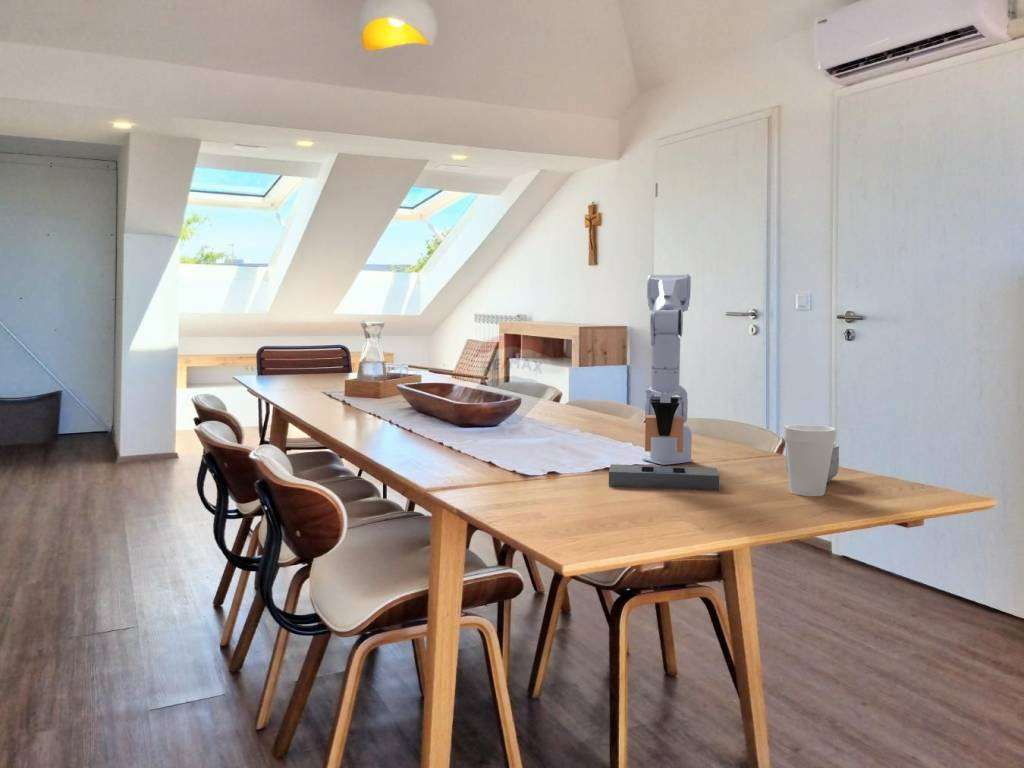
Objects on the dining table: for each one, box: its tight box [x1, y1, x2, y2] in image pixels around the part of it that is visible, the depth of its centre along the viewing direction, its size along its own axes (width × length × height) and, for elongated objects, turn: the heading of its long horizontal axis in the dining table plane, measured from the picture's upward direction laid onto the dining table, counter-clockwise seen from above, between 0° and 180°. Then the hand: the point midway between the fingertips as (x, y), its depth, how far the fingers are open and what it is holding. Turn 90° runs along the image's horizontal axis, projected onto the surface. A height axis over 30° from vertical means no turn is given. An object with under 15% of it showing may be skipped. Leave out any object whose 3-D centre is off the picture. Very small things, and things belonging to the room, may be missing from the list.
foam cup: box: [783, 423, 837, 497], centre depth 162 cm, size 10×9×13 cm
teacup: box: [784, 443, 841, 483], centre depth 174 cm, size 14×11×8 cm
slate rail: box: [608, 463, 720, 492], centre depth 169 cm, size 22×8×3 cm, turn 80°
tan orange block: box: [644, 415, 685, 453], centre depth 169 cm, size 8×4×7 cm, turn 80°
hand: (664, 434), depth 169 cm, fingers closed on tan orange block, 4 cm apart
